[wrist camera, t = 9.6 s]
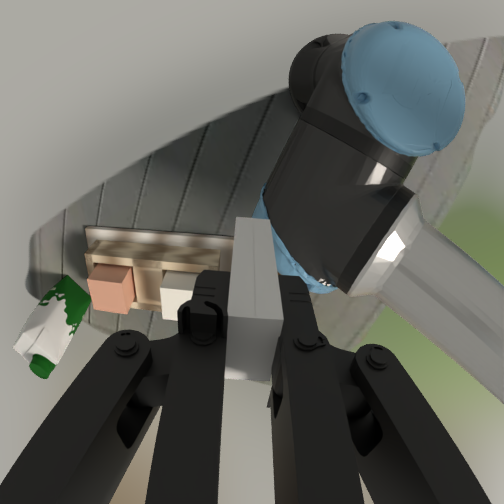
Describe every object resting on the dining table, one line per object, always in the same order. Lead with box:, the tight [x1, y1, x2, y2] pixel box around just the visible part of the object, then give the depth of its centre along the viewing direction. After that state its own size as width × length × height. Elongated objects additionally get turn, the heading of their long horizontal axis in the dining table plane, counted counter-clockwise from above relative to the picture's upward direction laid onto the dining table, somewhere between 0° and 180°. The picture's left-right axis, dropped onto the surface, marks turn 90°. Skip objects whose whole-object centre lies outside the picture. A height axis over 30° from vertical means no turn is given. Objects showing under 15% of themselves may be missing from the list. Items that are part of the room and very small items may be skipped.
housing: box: [84, 226, 234, 312], centre depth 50 cm, size 26×14×6 cm, turn 84°
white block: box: [160, 270, 200, 321], centre depth 48 cm, size 6×6×7 cm
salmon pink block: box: [87, 263, 136, 314], centre depth 47 cm, size 6×6×7 cm
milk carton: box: [13, 275, 92, 379], centre depth 48 cm, size 9×9×20 cm
